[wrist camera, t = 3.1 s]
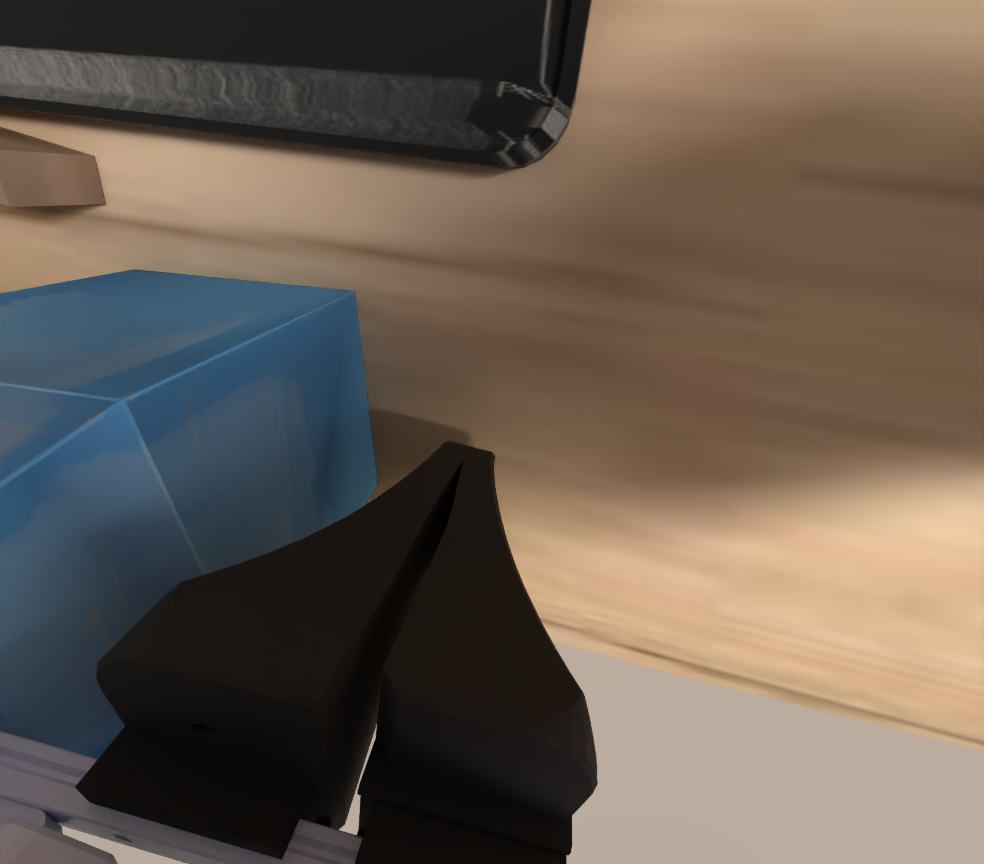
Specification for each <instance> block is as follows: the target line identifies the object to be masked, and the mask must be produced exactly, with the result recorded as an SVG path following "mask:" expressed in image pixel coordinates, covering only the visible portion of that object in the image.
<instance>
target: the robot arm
mask: <svg viewBox="0 0 984 864" xmlns="http://www.w3.org/2000/svg"><path fill="white" fill-rule="evenodd" d="M494 460H495V456H494V454H493V453H492V452H490V451H486V450H482V449H478V448H474V447H470V446H466V445H462V444H459V443H455V442H451V441H447V442H445V443H444V444H443V445H442V446H441V447H440V448H439V449H438V450H437V451H436V452H435V453H433V454H432V455H431V456H430V457H429V458H428V459H427V460H426V461H425V462H423V463H422V464H421V465H420V466H419V467H417V468H416V469H415V470H414V471H412V472H411V473H410V474H409V475H408V476H406V477H405V478H404V479H402V480H401V481H400V482H399V483H397V484H396V485H394V486H393V487H391V488H390V489H389V490H387V491H386V492H384V493H383V494H382V495H380V496H379V497H377V498H376V499H374V500H373V501H371V502H370V503H368V504H366V505H365V506H363V507H362V508H360V509H358V510H356V511H355V512H353V513H351V514H350V515H348V516H346V517H344V518H342V519H341V520H339V521H337V522H335V523H333V524H331V525H329V526H327V527H325V528H323V529H321V530H319V531H317V532H315V533H313V534H311V535H309V536H307V537H305V538H302V539H300V540H298V541H296V542H293V543H291V544H288V545H286V546H283V547H281V548H279V549H276V550H274V551H271V552H269V553H266V554H264V555H261V556H259V557H256V558H253V559H251V560H248V561H245V562H242V563H239V564H236V565H233V566H230V567H227V568H224V569H221V570H218V571H215V572H211V573H208V574H205V575H202V576H199V577H196V578H193V579H189V580H186V581H183V582H180V583H179V584H178V585H176V586H175V587H174V588H173V589H172V590H171V591H170V592H169V593H167V594H166V595H165V596H164V597H163V598H162V599H160V600H159V601H158V602H157V603H156V604H155V605H154V606H153V607H152V608H151V609H150V610H149V611H148V612H147V613H146V614H145V615H144V616H143V617H142V618H141V619H140V620H139V621H138V622H137V623H136V624H135V625H134V626H133V627H132V628H131V629H130V630H129V631H128V632H127V633H126V634H125V635H124V636H123V637H122V638H121V639H120V640H119V641H118V642H117V643H116V644H115V645H114V646H113V647H112V648H111V649H110V650H109V651H108V652H107V653H106V654H105V655H104V656H103V657H102V658H101V659H100V660H99V661H98V663H97V670H96V680H97V682H98V684H99V686H100V689H101V691H102V692H103V694H104V695H105V696H106V698H107V699H108V701H109V702H110V704H111V705H112V707H113V708H114V710H115V711H116V713H117V714H118V716H119V717H120V719H121V720H122V722H123V723H124V725H125V727H124V728H123V729H122V731H121V732H120V733H119V734H118V735H117V737H116V738H115V739H114V740H113V741H112V743H111V744H110V745H109V746H108V747H107V749H106V750H105V751H104V752H103V754H102V755H101V756H100V757H99V758H98V759H95V758H92V757H88V756H85V755H81V754H78V753H75V752H71V751H68V750H64V749H61V748H58V747H54V746H51V745H47V744H44V743H41V742H37V741H34V740H30V739H27V738H24V737H20V736H17V735H13V734H10V733H6V732H3V731H0V864H118V863H117V861H116V860H115V858H114V856H113V855H112V854H110V853H108V852H105V851H103V850H100V849H98V848H95V847H93V846H91V845H88V844H86V843H83V842H81V841H78V840H76V839H73V838H71V837H69V836H66V835H63V833H62V826H65V827H68V828H71V829H75V830H78V831H81V832H85V833H88V834H91V835H95V836H98V837H101V838H104V839H108V840H111V841H115V842H118V843H121V844H125V845H128V846H131V847H135V848H138V849H141V850H144V851H148V852H151V853H154V854H158V855H161V856H164V857H168V858H171V859H174V860H178V861H181V862H184V863H188V864H566V855H569V854H570V853H571V848H572V815H573V814H574V813H575V812H576V811H577V810H578V809H579V808H580V806H581V805H582V804H583V803H584V802H585V801H586V800H587V799H588V798H589V797H590V796H591V795H592V794H593V792H594V790H595V788H596V786H597V762H596V752H595V745H594V739H593V733H592V727H591V722H590V717H589V713H588V708H587V704H586V700H585V696H584V693H583V692H582V690H581V688H580V687H579V685H578V684H577V682H576V681H575V679H574V678H573V676H572V674H571V673H570V671H569V670H568V668H567V666H566V665H565V663H564V661H563V660H562V658H561V656H560V655H559V653H558V651H557V650H556V648H555V646H554V644H553V642H552V641H551V639H550V637H549V635H548V633H547V631H546V630H545V628H544V626H543V624H542V622H541V620H540V618H539V616H538V614H537V612H536V610H535V608H534V606H533V604H532V601H531V599H530V597H529V595H528V593H527V591H526V589H525V587H524V585H523V582H522V580H521V577H520V575H519V572H518V570H517V567H516V565H515V562H514V559H513V556H512V553H511V551H510V548H509V544H508V541H507V538H506V535H505V531H504V527H503V523H502V519H501V515H500V511H499V505H498V500H497V495H496V488H495V478H494ZM376 725H377V730H376V739H375V742H374V745H373V747H372V750H371V753H370V756H369V759H368V762H367V764H366V767H365V770H364V773H363V776H362V779H361V782H360V785H359V788H358V795H361V798H360V815H359V830H358V833H357V835H353V834H350V833H347V832H343V831H340V830H339V829H340V828H341V827H342V826H343V825H345V822H346V819H347V816H348V813H349V810H350V806H351V803H352V800H353V797H354V794H355V790H356V787H357V784H358V781H359V778H360V774H361V771H362V768H363V765H364V762H365V759H366V756H367V753H368V750H369V746H370V743H371V740H372V737H373V734H374V731H375V728H376ZM60 825H61V826H60Z"/></svg>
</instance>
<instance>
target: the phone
mask: <svg viewBox="0 0 984 864" xmlns="http://www.w3.org/2000/svg"><path fill="white" fill-rule="evenodd" d="M591 2H592V0H0V108H5V109H13V110H21V111H30V112H38V113H46V114H55V115H63V116H71V117H80V118H88V119H96V120H105V121H113V122H121V123H130V124H138V125H146V126H154V127H163V128H171V129H179V130H188V131H196V132H204V133H213V134H221V135H229V136H238V137H246V138H254V139H263V140H271V141H279V142H288V143H296V144H304V145H313V146H321V147H329V148H338V149H346V150H354V151H363V152H371V153H379V154H388V155H396V156H404V157H412V158H421V159H429V160H437V161H446V162H454V163H462V164H471V165H479V166H487V167H496V168H504V169H509V168H523V167H526V166H528V165H530V164H532V163H534V162H537V161H539V160H541V159H542V158H543V157H544V156H545V155H546V154H547V153H548V152H549V151H551V150H552V149H553V148H554V147H555V146H556V145H557V143H558V141H559V140H560V138H561V136H562V135H563V133H564V131H565V130H566V128H567V126H568V124H569V120H570V117H571V113H572V110H573V107H574V103H575V98H576V92H577V86H578V80H579V74H580V68H581V62H582V56H583V50H584V44H585V38H586V32H587V26H588V20H589V14H590V8H591Z"/></svg>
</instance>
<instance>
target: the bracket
mask: <svg viewBox="0 0 984 864" xmlns="http://www.w3.org/2000/svg"><path fill="white" fill-rule="evenodd" d="M0 204H2V205H5V206H8V207H26V206H59V205H93V204H105V200H104V196H103V191H102V187H101V183H100V179H99V174H98V170H97V166H96V161H95V157H94V156H92V155H88V154H85V153H82V152H79V151H76V150H72V149H69V148H66V147H63V146H60V145H56V144H53V143H50V142H47V141H44V140H40V139H37V138H34V137H31V136H28V135H24V134H21V133H18V132H15V131H12V130H8V129H5V128H2V127H0Z"/></svg>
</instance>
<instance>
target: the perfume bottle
mask: <svg viewBox="0 0 984 864" xmlns="http://www.w3.org/2000/svg"><path fill="white" fill-rule="evenodd" d="M377 486H378V483H377V474H376V466H375V458H374V449H373V441H372V432H371V424H370V416H369V407H368V399H367V390H366V382H365V373H364V365H363V357H362V348H361V340H360V331H359V323H358V314H357V306H356V298H355V291H349V290H338V289H328V288H318V287H308V286H298V285H287V284H277V283H267V282H257V281H246V280H236V279H226V278H216V277H205V276H195V275H185V274H175V273H164V272H154V271H144V270H128V271H123V272H117V273H112V274H106V275H101V276H95V277H90V278H84V279H79V280H73V281H68V282H62V283H57V284H51V285H46V286H40V287H35V288H29V289H24V290H18V291H13V292H7V293H2V294H0V731H3V732H6V733H10V734H13V735H17V736H20V737H24V738H27V739H30V740H34V741H37V742H41V743H44V744H47V745H51V746H54V747H58V748H61V749H64V750H68V751H71V752H75V753H78V754H81V755H85V756H88V757H92V758H95V759H98V758H99V757H100V756H101V755H102V754H103V752H104V751H105V750H106V749H107V747H108V746H109V745H110V744H111V743H112V741H113V740H114V739H115V738H116V737H117V735H118V734H119V733H120V732H121V731H122V729H123V728H124V727H125V725H124V723H123V722H122V720H121V719H120V717H119V716H118V714H117V713H116V711H115V710H114V708H113V707H112V705H111V704H110V702H109V701H108V699H107V698H106V696H105V695H104V694H103V692H102V691H101V689H100V686H99V684H98V682H97V680H96V670H97V663H98V661H99V660H100V659H101V658H102V657H103V656H104V655H105V654H106V653H107V652H108V651H109V650H110V649H111V648H112V647H113V646H114V645H115V644H116V643H117V642H118V641H119V640H120V639H121V638H122V637H123V636H124V635H125V634H126V633H127V632H128V631H129V630H130V629H131V628H132V627H133V626H134V625H135V624H136V623H137V622H138V621H139V620H140V619H141V618H142V617H143V616H144V615H145V614H146V613H147V612H148V611H149V610H150V609H151V608H152V607H153V606H154V605H155V604H156V603H157V602H158V601H159V600H160V599H162V598H163V597H164V596H165V595H166V594H167V593H169V592H170V591H171V590H172V589H173V588H174V587H175V586H176V585H178V584H179V583H180V582H183V581H186V580H189V579H193V578H196V577H199V576H202V575H205V574H208V573H211V572H215V571H218V570H221V569H224V568H227V567H230V566H233V565H236V564H239V563H242V562H245V561H248V560H251V559H253V558H256V557H259V556H261V555H264V554H266V553H269V552H271V551H274V550H276V549H279V548H281V547H283V546H286V545H288V544H291V543H293V542H296V541H298V540H300V539H302V538H305V537H307V536H309V535H311V534H313V533H315V532H317V531H319V530H321V529H323V528H325V527H327V526H329V525H331V524H333V523H335V522H337V521H339V520H341V519H342V518H344V517H346V516H348V515H350V514H351V513H353V512H355V511H356V510H358V509H360V508H362V507H363V506H365V504H366V503H367V501H368V500H369V498H370V497H371V495H372V494H373V492H374V490H375V489H376V487H377Z"/></svg>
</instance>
